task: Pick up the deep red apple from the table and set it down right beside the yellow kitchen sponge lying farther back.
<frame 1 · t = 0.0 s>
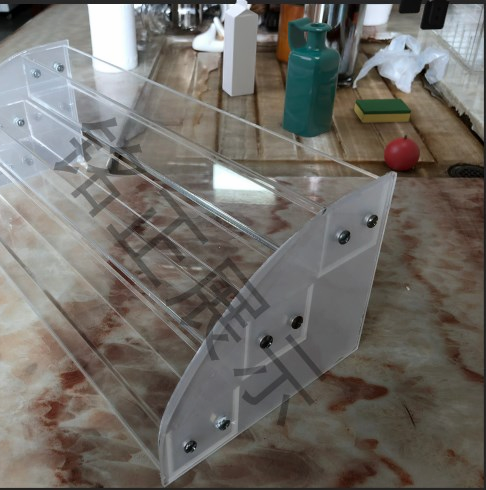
hand: (419, 20, 90), 29 cm above the worktop, tool pointing down, fingers open, 9 cm apart
apple: (398, 169, 112), on the worktop
sponge: (380, 117, 132), on the worktop
pitcher: (303, 129, 129), on the worktop
milk: (237, 93, 148), on the worktop
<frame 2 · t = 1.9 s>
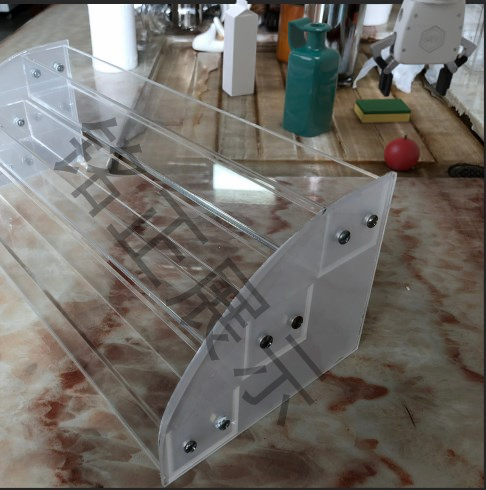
hand: (412, 93, 103), 15 cm above the worktop, tool pointing down, fingers open, 9 cm apart
nothing on the worktop moved.
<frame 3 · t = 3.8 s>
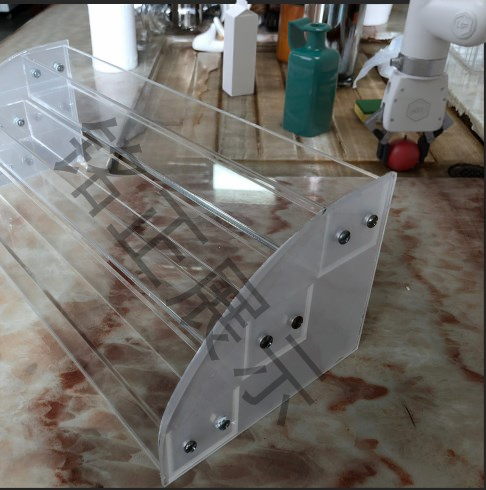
hand: (400, 159, 111), 2 cm above the worktop, tool pointing down, fingers closed on apple, 6 cm apart
apple: (398, 169, 112), on the worktop, touching gripper
everything else where it was.
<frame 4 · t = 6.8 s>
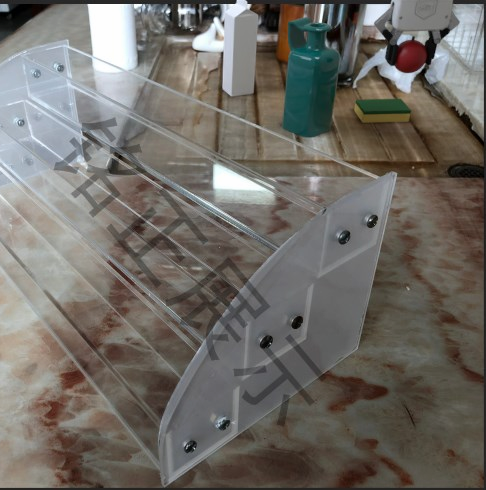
hand: (408, 62, 115), 15 cm above the worktop, tool pointing down, fingers closed on apple, 6 cm apart
apple: (406, 72, 117), point 13 cm above the worktop, touching gripper
everything else where it was.
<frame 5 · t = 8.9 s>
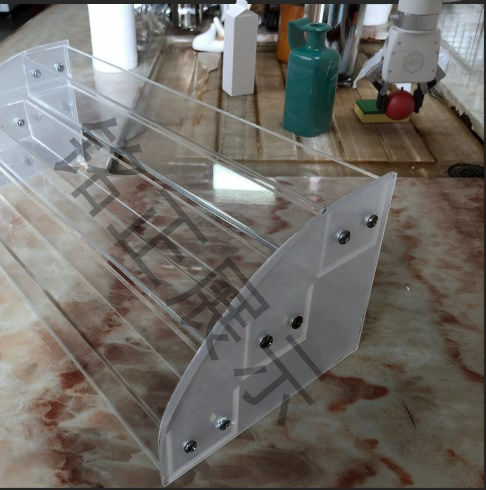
hand: (397, 110, 122), 5 cm above the worktop, tool pointing down, fingers closed on apple, 6 cm apart
apple: (395, 119, 123), point 3 cm above the worktop, touching gripper
everything else where it was.
when the fingers open (2 cm above the worktop, at t = 10.2 s): apple stays where it is, on the worktop.
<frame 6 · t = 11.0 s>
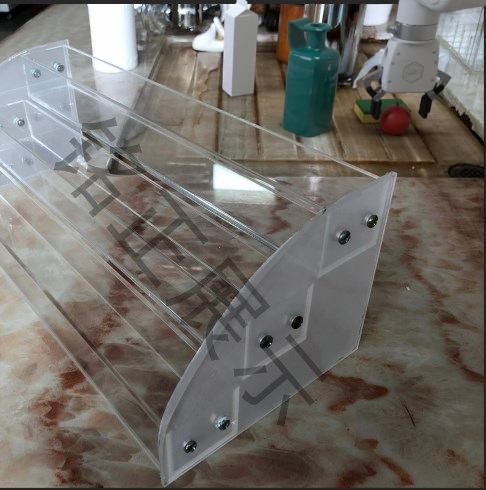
hand: (398, 117, 122), 4 cm above the worktop, tool pointing down, fingers open, 9 cm apart
apple: (392, 133, 125), on the worktop
everything else where it was.
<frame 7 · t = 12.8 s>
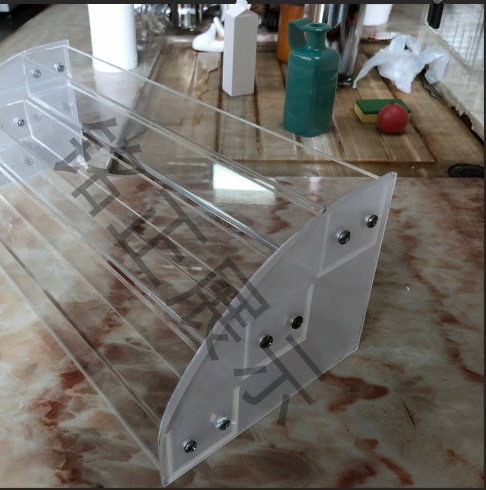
hand: (462, 26, 98), 26 cm above the worktop, tool pointing down, fingers open, 9 cm apart
apple: (393, 133, 125), on the worktop, tilted 15°
everything else where it was.
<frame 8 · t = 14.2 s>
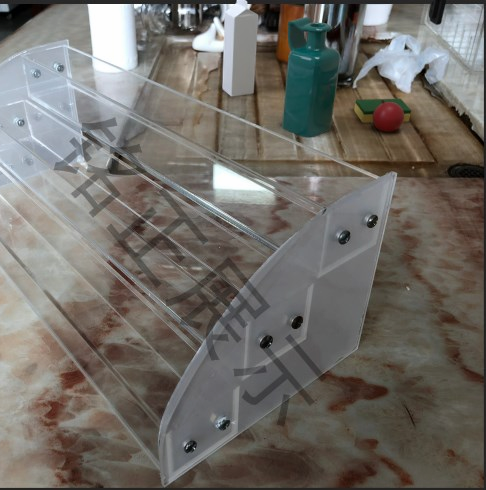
hand: (464, 21, 98), 26 cm above the worktop, tool pointing down, fingers open, 9 cm apart
apple: (393, 131, 125), point 1 cm above the worktop, tilted 36°
everything else where it was.
at the end: apple 8.7 cm from the sponge (horizontally); apple point 0.7 cm above the worktop; the gripper is holding nothing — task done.
